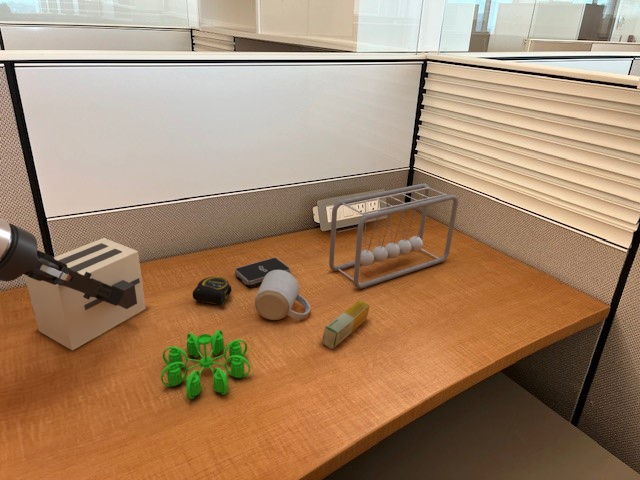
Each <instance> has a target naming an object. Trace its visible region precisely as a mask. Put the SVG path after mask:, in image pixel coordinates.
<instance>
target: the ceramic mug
mask: <svg viewBox="0 0 640 480" xmlns="http://www.w3.org/2000/svg"><path fill="white" fill-rule="evenodd" d="M299 291H300V283H299V282H298V280H297V278H296V277H295V276H294V275H293V274H291V272H290V273H288V272H286V271H283V270H273V271H270V272H269V273H267V274H266V276H265V277H264V279H263V281H262V284H260V285H259V288H258V290H257V292H256V295H255V298H254V307H255V310H256V311H257V313H258V314H259V315H260V316H261V317H263V318H265V319H267V320H270V321H279V320H281V319H284V318H285V317H286V316H289V317H290V318H292V319H296V320H304V319H306V318H307V317H308V315H309V314H310V311H311V305H310V303H309V302H308V300H307V299H306V298H305V297H304V296H303V295H301V294H299ZM296 301H297V303H299V304H300V305H301V306H302V307H303V308H304V309H305V311H304V312H303V313H300V312H297V311H295V310H293V309H292V307H293V305H294V303H295V302H296Z"/></svg>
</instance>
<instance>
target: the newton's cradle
mask: <svg viewBox="0 0 640 480" xmlns="http://www.w3.org/2000/svg"><path fill="white" fill-rule="evenodd" d="M420 191H424V194H422V193H419V192H420ZM430 191H432V192H435V193H438V194H440V195H436V196H431V197H430ZM410 193H414V194H413V195H414V197H416V194H418V195H421V196H423V198H422V199H416V198H413V197H411V196H409V195H406V194H410ZM400 195H401V196H406V197H408V198H411V199H412V200H414V201H410V202H404V199H402V200H400V199H397V198H395V197H397V196H400ZM388 198H391V199H394V200H396V201H399V202H401V203H399V204H396V205H392V204H389V203H387V202H385V201H384V200H382V199H388ZM372 201H373V202H374V201H377V207H376V206H375V205H372V204H370V203H369V202H372ZM449 201H452V208H451V213H450V219H449V224H448V230H447V237H446V242H445V248H444V253H443V255H442V256H441V257H438V256H436V255H434V254H432V253H431V252H428V251H427V250H425V249H423V246H424V241H423V239H424V231H425V226H426V220H427V219H426V218H427V211H428V207H429V206H433V205H435V204H440V203H444V202H449ZM380 202H382V203H384V204H386V205H388V206H386V207H382V208H380ZM359 204H364V212H362V211H360V210H359V209H356V208H354V207H353V206H355V205H359ZM366 204H368V205H369V206H371V207H374V208H376V209H373V210H369V211H367V207H366V206H367V205H366ZM458 205H459V199H458V197H457V196H456V195H454V194H450V195H449V194H447V193H444V192H442V191H439V190H437V189H434V188H432V187H430V186H429V185H428V184H427V183H419V184H414V185H409V186H405V187H399V188H394V189H389V190H384V191H379V192H375V193H370V194H369V193H368V194H364V195H359V196H355V197H349V198H345V199H344V198H343V199H341V200H340V199H339V200H338V201H336V203H334V205H333V206H332V208H331V223H330V224H331V226H330V239H329V240H330V241H329V257H328V258H329V260H328V266H329V269H330V270H332V271H334V272H338V271H339V272H340V273H342V275H345V276H346V277H347V278H348V279H350V280H351V281H352V282H353V286H354V287H355V288H356V289H359V290H361V289H365V288H368V287H371V286H375V285H377V284H380V283H383V282H386V281H390V280H392V279H395V278H399V277H401V276H404V275H407V274H410V273H413V272H416V271H420V270H423V269H425V268H428V267H432V266H435V265H438V264H440V263H443V262H445V261H446V260H447V259H448V258H449V255H450V250H451V245H452V239H453V234H454V229H455V222H456V217H457V210H458ZM341 206H345V207H346V208H348V209H350V210H352V211H354V212H356V213H357V214H360V215H361V216H362V217H361V218H360V219H359V221H358V224H357V234H356V244H355V256H354V257H355V258H354V260H353V261H349V262H346V263H342V264H339V265H335V251H336V237H337V236H336V234H337V220H338V219H337V217H338V210H339V208H340V207H341ZM418 208H422V210H421V215H420V216H421V217H420V223H419V228H418V233H417V235H416V234H414V236H412V237H410V238H409V239H408V236H409V232H410V229H411V226H412V222H413V220H414V217H415V214H416V209H418ZM410 210H414V211H413V213H412V216H411V217H412V218H411V220H410V224H409V228H408V231H407V234H406V237H405V213H404V212H406V211H410ZM397 213H401V217H400V220H399V223H398V228H397V230H396V235H395V238H394V242H389V243H387V244H386V245H385V246H383V244H384V242H385V238H386V234H387V230H388V226H389V223H390V225H391V226H390V227H391V228H390V231H391V232H390V233H391V236H390V237H391V238H393V215H394V214H397ZM385 216H388V222H387V225H386V229H385V233H384V236H383V239H382V243H381V233H380V229H381V228H380V226H378V239H379V240H378V243H379V245H378V246H375V247H374V248H373V250H372V251H371V250H370V246H371V243H372V239H373V236H374V232H375V229H376V225H377V221H378V219H379V218H380V217H385ZM372 219H375V223H374V227H373V230H372V234H371V236H370V241H369V245H368V247H367V249H364V250H362V247H363V234H364V233H365V238H364V239H365V245H367V221H368V220H372ZM401 222H402V228H403V229H402V231H403V233H402V234H403V237H402V239H401V240H400V239H399V240H398V242H397V243H396V239H397V236H398V232H399V229H400V225H401ZM364 229H365V231H364ZM407 239H408V240H407ZM419 251H422V252H424V253H426V254H427V255H429V256H430V257H433V258H435V259H432V260H430V261H427V262H423V263H419V264H416V265H413V266H411V267H408V268H405V269H401V270H398V271H395V272H392V273H388V274H386V275H383V276H380V277H376V278H374V279H370V280H367V281H365V282H361V283H360V282H359V280H360V268H361V266H363V267H369V266H371V265H372V264H374V261H375V262H378V263H383V262H385V261H387V259H396V258H397V257H398V256H399V255H402V256H406V255H408V254H410V252H419ZM352 267H354V270H353V277H351V275H348V274H347V273H346V272H345V271H343V270H345V269H348V268H352Z"/></svg>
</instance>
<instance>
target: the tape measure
mask: <svg viewBox="0 0 640 480" xmlns="http://www.w3.org/2000/svg"><path fill="white" fill-rule="evenodd" d="M231 293H232V286H231V284H229V281H228V279H226V278H225V277H221V276H209V277H205V278H203V279H202V280H200V281H199V282H198V283H197V286H196V287H195V288H194V289H193V290H192V298H193V300H194V301H197V302H201V303H208V304H213V305H218V306H224V305H225V303H226V301H227V300H228V299H229V298H230V295H231Z"/></svg>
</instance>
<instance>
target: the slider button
mask: <svg viewBox="0 0 640 480" xmlns="http://www.w3.org/2000/svg"><path fill="white" fill-rule="evenodd" d="M112 287H114V288H116V289H119V290H121V291H123V292H124V293H123V295H122V297H121V299H120V301H119V303H118V304H117V305H119V306H121V307H123V308H125V309H128V308H130V307H132V306H134V305H135V304H137V298H136V291H135V285H133V284H131V283H129V282H127V281H124V280H122V281H120V282H118V283H116V284H114V285H112Z"/></svg>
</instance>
